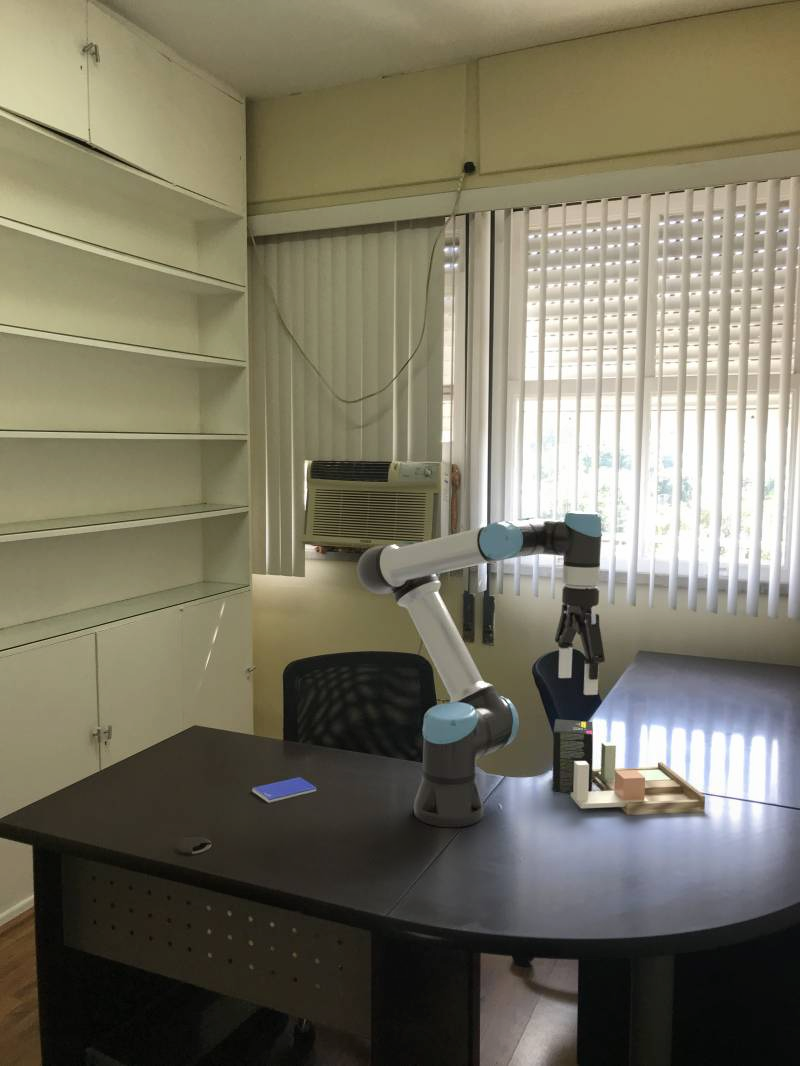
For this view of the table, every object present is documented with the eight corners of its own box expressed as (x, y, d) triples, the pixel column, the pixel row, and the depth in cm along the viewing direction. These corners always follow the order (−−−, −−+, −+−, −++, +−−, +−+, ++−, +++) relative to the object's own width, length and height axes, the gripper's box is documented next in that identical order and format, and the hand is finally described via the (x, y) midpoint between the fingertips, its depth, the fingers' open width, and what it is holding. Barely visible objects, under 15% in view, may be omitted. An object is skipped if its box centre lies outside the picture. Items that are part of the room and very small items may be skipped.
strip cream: (580, 808, 188) (581, 768, 187) (569, 796, 195) (570, 758, 194) (648, 805, 190) (649, 765, 190) (636, 793, 197) (637, 755, 196)
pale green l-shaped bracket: (607, 786, 201) (608, 748, 201) (597, 775, 208) (598, 739, 207) (671, 783, 204) (672, 746, 203) (658, 773, 210) (660, 737, 210)
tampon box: (592, 795, 199) (593, 734, 198) (551, 792, 201) (553, 731, 200) (591, 779, 210) (593, 720, 209) (553, 775, 212) (554, 717, 210)
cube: (623, 800, 190) (623, 778, 190) (614, 792, 195) (615, 770, 195) (644, 799, 191) (645, 777, 191) (635, 791, 196) (636, 769, 195)
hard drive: (268, 798, 193) (316, 786, 200) (252, 787, 199) (299, 776, 206) (268, 805, 193) (316, 793, 200) (252, 793, 199) (298, 782, 207)
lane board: (627, 815, 188) (627, 799, 188) (591, 778, 210) (591, 764, 209) (704, 811, 190) (705, 796, 190) (661, 776, 212) (661, 762, 212)
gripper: (624, 594, 167) (620, 701, 169) (574, 577, 192) (570, 670, 193) (588, 595, 166) (584, 702, 168) (542, 577, 190) (539, 671, 192)
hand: (577, 685), depth 181 cm, fingers open, 13 cm apart
